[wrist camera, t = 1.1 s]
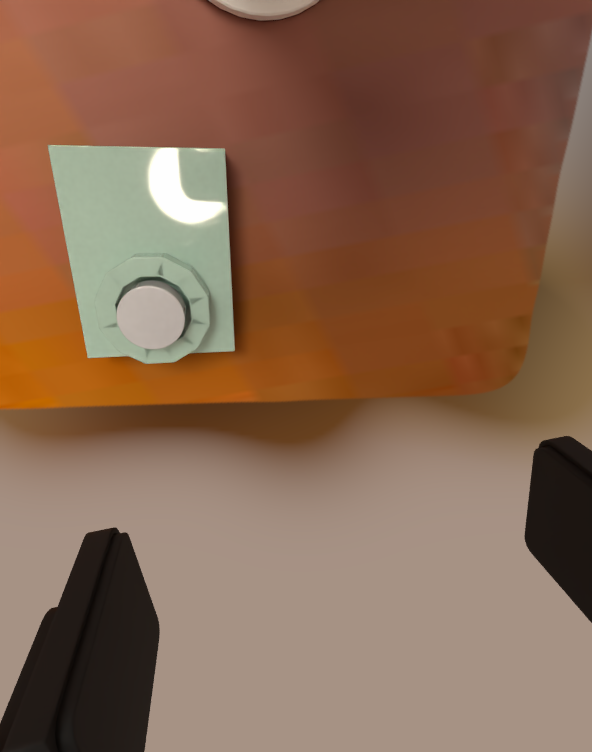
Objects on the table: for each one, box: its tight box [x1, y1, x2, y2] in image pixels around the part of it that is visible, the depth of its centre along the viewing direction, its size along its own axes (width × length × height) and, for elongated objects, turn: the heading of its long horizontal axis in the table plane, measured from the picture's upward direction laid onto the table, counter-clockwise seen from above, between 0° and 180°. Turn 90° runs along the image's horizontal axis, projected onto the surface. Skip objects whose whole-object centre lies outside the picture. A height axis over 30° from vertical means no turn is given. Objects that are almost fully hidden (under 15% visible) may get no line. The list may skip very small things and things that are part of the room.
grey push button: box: [116, 280, 187, 349], centre depth 28 cm, size 4×4×2 cm
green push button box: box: [48, 145, 235, 364], centre depth 29 cm, size 13×10×5 cm
